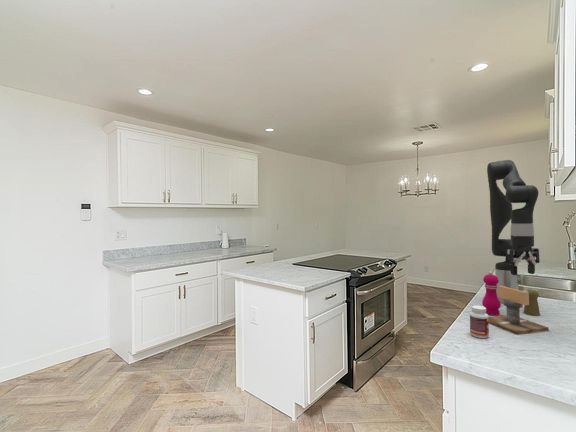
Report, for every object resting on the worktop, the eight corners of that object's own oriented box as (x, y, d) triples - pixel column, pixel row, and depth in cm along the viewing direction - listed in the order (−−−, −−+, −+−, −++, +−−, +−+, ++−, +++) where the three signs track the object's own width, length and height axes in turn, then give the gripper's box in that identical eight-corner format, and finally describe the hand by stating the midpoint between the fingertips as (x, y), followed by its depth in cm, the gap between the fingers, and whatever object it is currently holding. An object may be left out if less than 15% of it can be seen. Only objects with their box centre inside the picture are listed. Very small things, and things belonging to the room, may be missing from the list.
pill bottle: (491, 339, 112) (490, 310, 111) (472, 337, 113) (472, 309, 113) (485, 333, 117) (485, 305, 117) (468, 331, 119) (467, 304, 119)
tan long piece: (506, 301, 131) (505, 284, 131) (533, 309, 120) (533, 290, 120) (494, 302, 130) (493, 285, 130) (520, 310, 118) (520, 292, 118)
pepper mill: (495, 311, 143) (494, 269, 143) (504, 316, 136) (503, 272, 136) (479, 310, 144) (478, 269, 144) (487, 315, 137) (487, 272, 136)
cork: (526, 315, 136) (525, 291, 136) (521, 311, 142) (521, 288, 142) (542, 316, 134) (542, 292, 134) (537, 312, 140) (536, 289, 140)
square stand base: (510, 317, 134) (510, 299, 134) (548, 330, 119) (548, 310, 119) (481, 320, 131) (481, 302, 131) (516, 334, 115) (515, 314, 115)
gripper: (527, 233, 126) (527, 271, 126) (499, 234, 123) (499, 273, 123) (545, 234, 118) (546, 275, 118) (516, 235, 115) (517, 277, 115)
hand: (522, 274), depth 120 cm, fingers open, 8 cm apart
